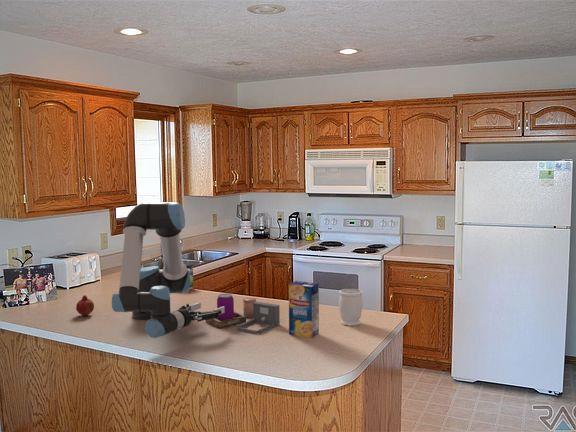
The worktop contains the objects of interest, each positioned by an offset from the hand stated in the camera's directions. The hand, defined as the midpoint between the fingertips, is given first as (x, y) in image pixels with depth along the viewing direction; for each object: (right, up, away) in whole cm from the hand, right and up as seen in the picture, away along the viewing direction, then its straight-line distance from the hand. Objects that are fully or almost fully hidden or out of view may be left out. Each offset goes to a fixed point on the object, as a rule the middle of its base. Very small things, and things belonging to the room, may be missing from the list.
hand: (211, 307), depth 239 cm
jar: (+62, -9, +6) cm, 63 cm away
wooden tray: (+5, -8, +9) cm, 13 cm away
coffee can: (-27, -2, +77) cm, 82 cm away
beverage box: (+41, -10, -9) cm, 43 cm away
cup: (+16, -7, +18) cm, 25 cm away
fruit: (-65, -8, +22) cm, 69 cm away
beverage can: (+5, -8, +9) cm, 13 cm away
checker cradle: (+20, -9, +1) cm, 22 cm away
